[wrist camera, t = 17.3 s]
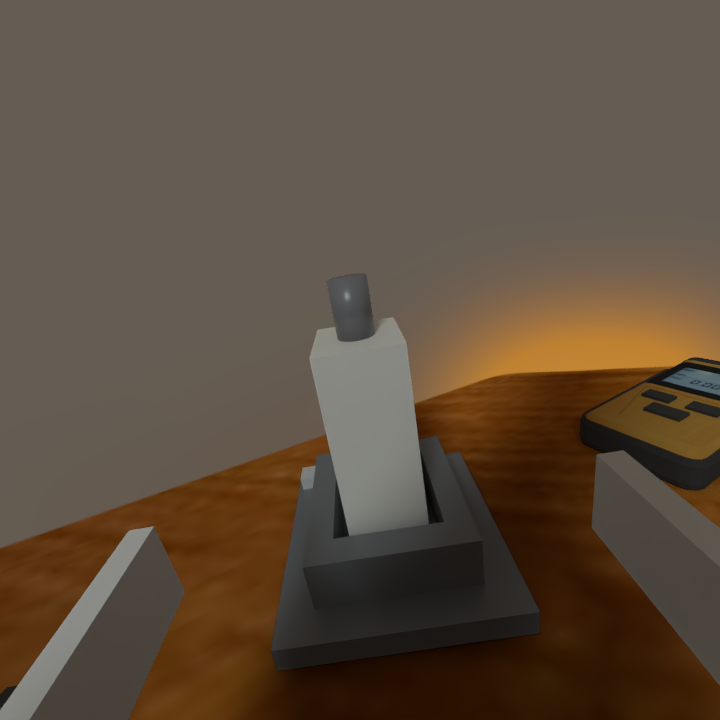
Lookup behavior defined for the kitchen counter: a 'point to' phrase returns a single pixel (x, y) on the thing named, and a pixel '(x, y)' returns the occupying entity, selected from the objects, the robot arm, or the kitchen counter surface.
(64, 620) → the robot arm
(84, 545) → the kitchen counter surface
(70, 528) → the kitchen counter surface
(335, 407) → the plug
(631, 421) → the electronic device
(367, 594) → the socket
